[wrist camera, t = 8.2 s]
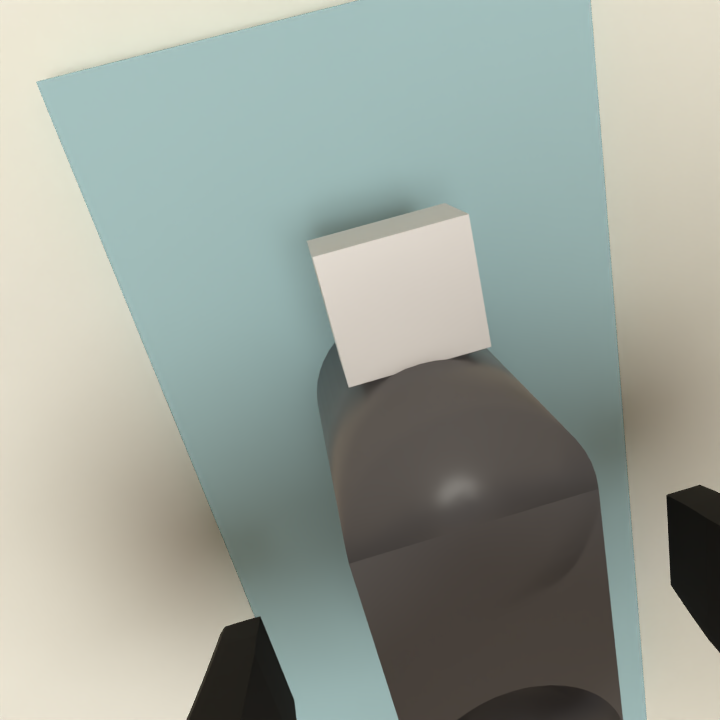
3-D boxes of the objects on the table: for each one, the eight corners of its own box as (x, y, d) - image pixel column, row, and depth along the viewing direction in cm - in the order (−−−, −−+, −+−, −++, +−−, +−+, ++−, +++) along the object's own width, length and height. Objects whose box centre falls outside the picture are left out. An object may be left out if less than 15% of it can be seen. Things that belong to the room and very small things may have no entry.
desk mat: (563, -45, 11) (586, -58, 10) (631, 699, 18) (647, 723, 17) (52, 84, 10) (35, 81, 9) (335, 791, 18) (338, 821, 17)
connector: (454, 181, 11) (570, 219, 7) (529, 610, 15) (631, 797, 11) (265, 233, 11) (266, 304, 7) (393, 652, 15) (442, 858, 11)
